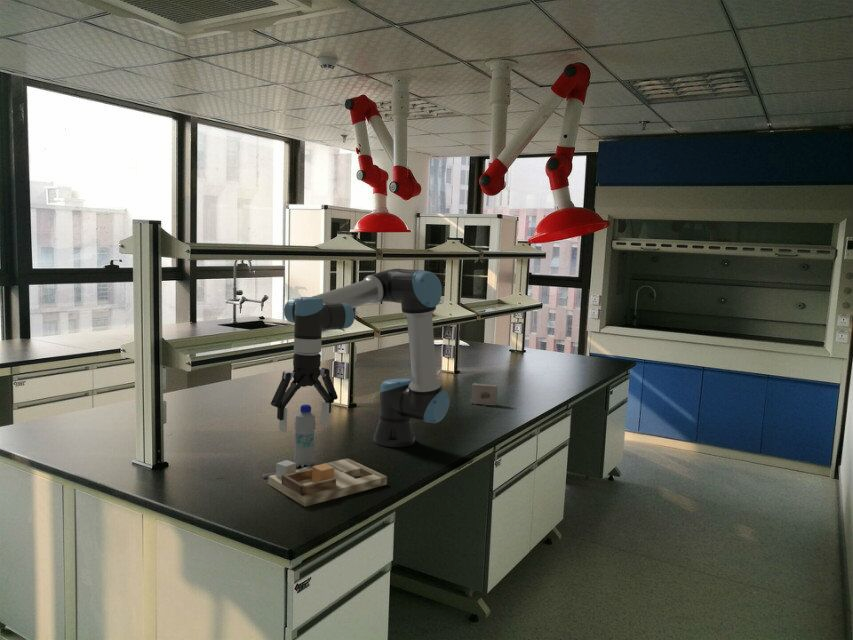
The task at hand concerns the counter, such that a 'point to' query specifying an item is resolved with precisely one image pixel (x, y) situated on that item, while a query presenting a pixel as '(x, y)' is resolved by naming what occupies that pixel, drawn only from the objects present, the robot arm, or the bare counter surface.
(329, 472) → the cube
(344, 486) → the board
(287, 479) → the cubby
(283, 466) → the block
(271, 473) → the crook tool
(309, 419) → the bottle
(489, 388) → the pale printed box
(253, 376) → the counter surface
